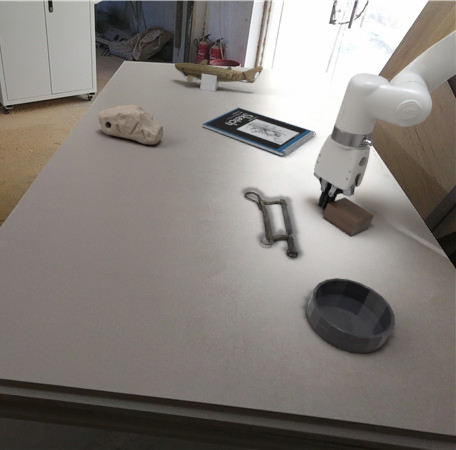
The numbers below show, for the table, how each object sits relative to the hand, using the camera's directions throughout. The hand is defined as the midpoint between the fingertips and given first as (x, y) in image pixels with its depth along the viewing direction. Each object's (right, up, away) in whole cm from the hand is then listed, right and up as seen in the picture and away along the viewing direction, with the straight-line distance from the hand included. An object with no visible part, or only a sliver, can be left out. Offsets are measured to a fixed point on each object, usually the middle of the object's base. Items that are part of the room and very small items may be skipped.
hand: (324, 206), depth 97 cm
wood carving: (-17, +51, +67) cm, 86 cm away
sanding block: (+3, -4, -4) cm, 6 cm away
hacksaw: (-15, -4, -5) cm, 16 cm away
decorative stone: (-49, +22, +28) cm, 60 cm away
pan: (-8, -21, -27) cm, 35 cm away
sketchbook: (-7, +26, +35) cm, 44 cm away
